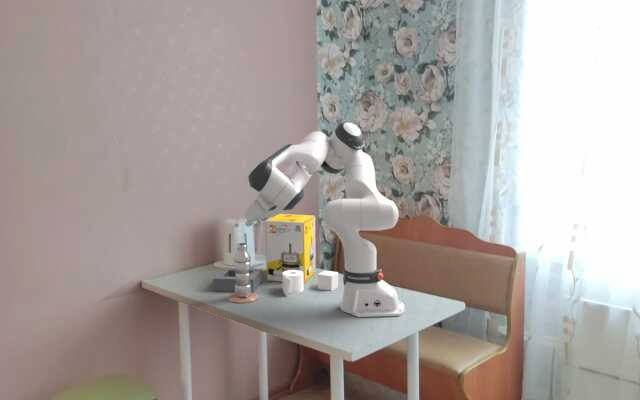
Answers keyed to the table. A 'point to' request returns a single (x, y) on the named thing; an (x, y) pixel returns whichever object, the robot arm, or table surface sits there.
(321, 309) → the table surface
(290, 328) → the table surface
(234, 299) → the terracotta coaster
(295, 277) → the toilet paper
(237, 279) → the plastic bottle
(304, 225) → the packaging box
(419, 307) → the table surface
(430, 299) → the table surface
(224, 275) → the charcoal collar
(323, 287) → the white cube
